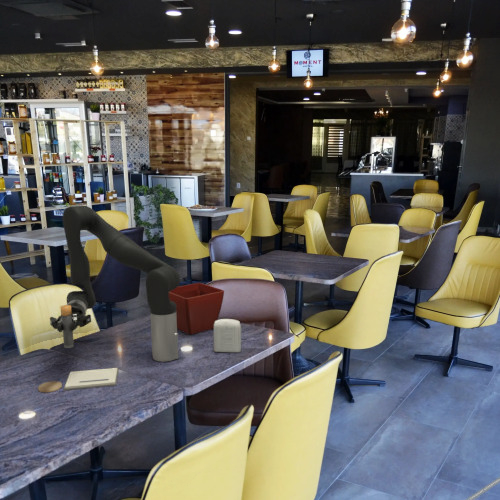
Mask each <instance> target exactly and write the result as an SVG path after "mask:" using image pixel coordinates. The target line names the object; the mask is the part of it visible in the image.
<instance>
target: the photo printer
mask: <svg viewBox="0 0 500 500" xmlns="http://www.w3.org/2000/svg"><path fill="white" fill-rule="evenodd" d="M240 323H241V322H240V321H239V320H237V319H234V318H233V319H231V318H221V319H218V320H217V321H215V324H214V329H213V351H214V352H216V353H240V352H241V351H242V326H241V324H240Z"/></svg>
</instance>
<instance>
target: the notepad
mask: <svg viewBox="0 0 500 500" xmlns="http://www.w3.org/2000/svg"><path fill="white" fill-rule="evenodd" d="M118 371H119V368H118V367H112V368H102V369H101V368H100V369H90V370H77V371H70V373H68V376H67V379H66V382H65V384H64V386H63V391H70V390H71V391H72V390H73V391H74V390H83V389H93V388H94V387H95V388H104V387H115V386H117V383H118V375H119V372H120V371H119V372H118Z"/></svg>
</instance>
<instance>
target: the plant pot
mask: <svg viewBox="0 0 500 500" xmlns="http://www.w3.org/2000/svg"><path fill="white" fill-rule="evenodd" d="M224 295H225V290H224V289H221V288H217V287H215V286H211V285H208V284H205V283H201V282H197V283H196V282H195V283H190V284H186V285H179V286H178V287H177V288H175V289H174V290H172V291H170V292H169V299H170V301H173V302H175V303H176V312H177V330H179V331H181V332H183V333H185V334H187V335H194V334H199V333H203V332H206V331H209V330H214V324H215V321H217V320H219V316H220V313H221V309H222V306H223V301H224Z"/></svg>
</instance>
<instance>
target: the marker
mask: <svg viewBox="0 0 500 500" xmlns="http://www.w3.org/2000/svg"><path fill="white" fill-rule="evenodd" d="M71 314H72V312H71V305H67V304H64V305H60V316H62V326H63V331H62V337H63V346H64V348H65V349H71V348H73V347H74V331H71V329H70V325H71V323H72V316H71Z"/></svg>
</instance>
